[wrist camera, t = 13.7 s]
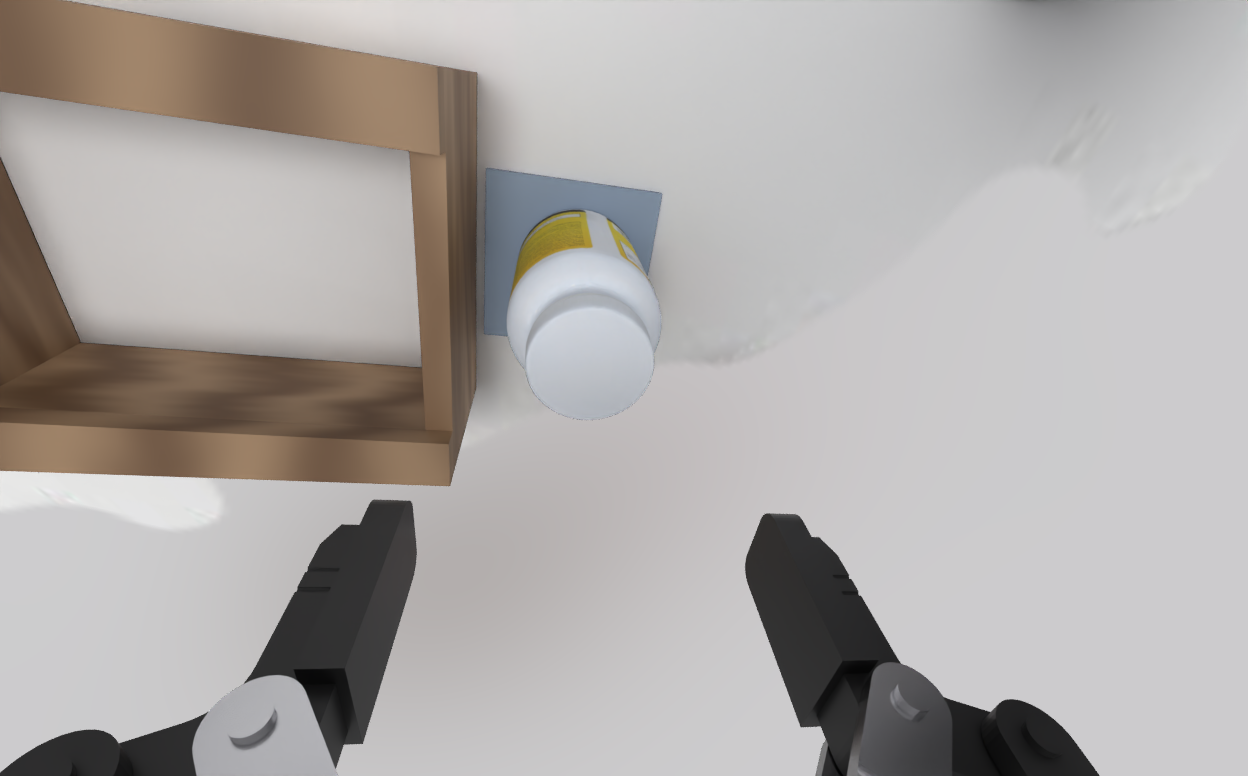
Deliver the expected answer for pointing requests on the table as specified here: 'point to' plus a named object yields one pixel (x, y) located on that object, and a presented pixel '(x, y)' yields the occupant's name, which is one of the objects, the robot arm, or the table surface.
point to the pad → (535, 197)
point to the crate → (232, 383)
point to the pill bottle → (583, 316)
